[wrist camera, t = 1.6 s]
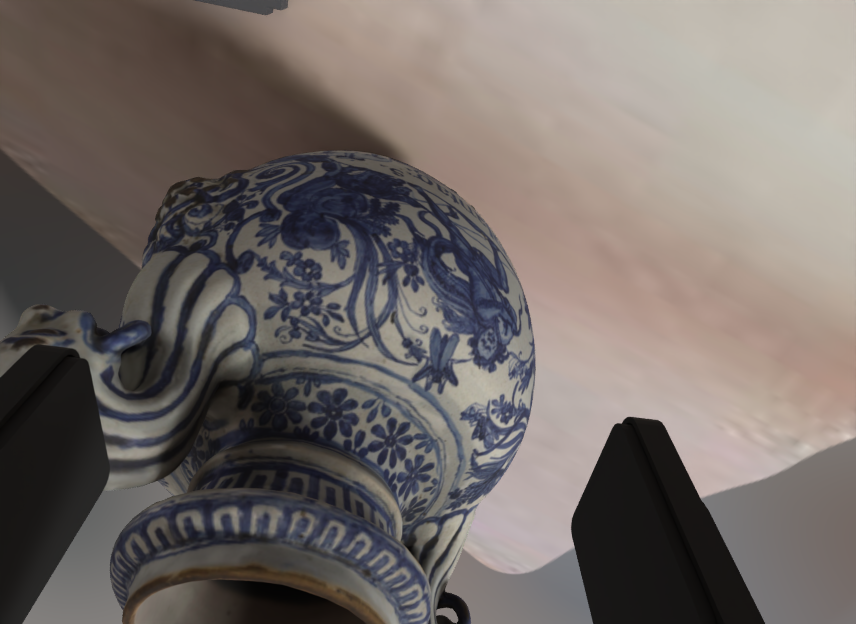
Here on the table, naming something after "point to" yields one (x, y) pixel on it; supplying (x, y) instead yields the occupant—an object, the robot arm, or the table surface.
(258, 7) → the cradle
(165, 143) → the table surface
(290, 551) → the decorative vase
